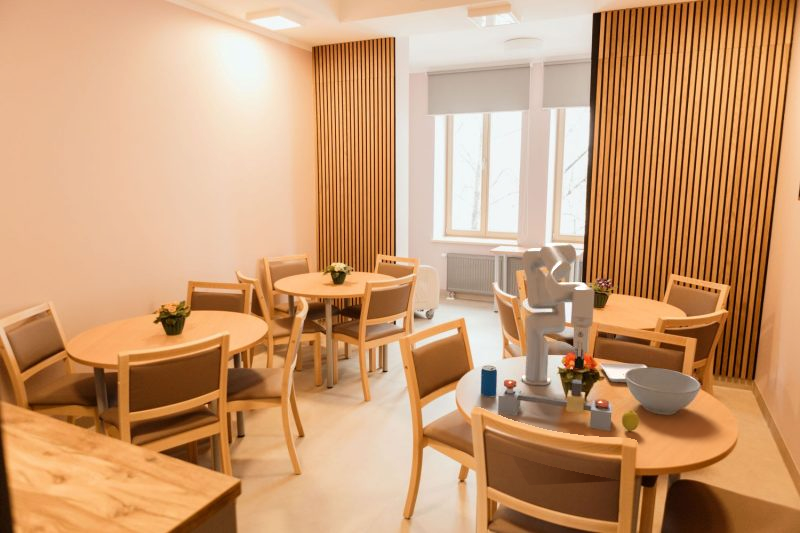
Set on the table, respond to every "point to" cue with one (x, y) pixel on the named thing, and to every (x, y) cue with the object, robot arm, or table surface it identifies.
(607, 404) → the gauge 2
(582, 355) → the robot arm
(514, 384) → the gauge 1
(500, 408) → the slide rail
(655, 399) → the decorative bowl
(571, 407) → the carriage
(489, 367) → the beverage can
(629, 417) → the lemon
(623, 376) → the salad plate
